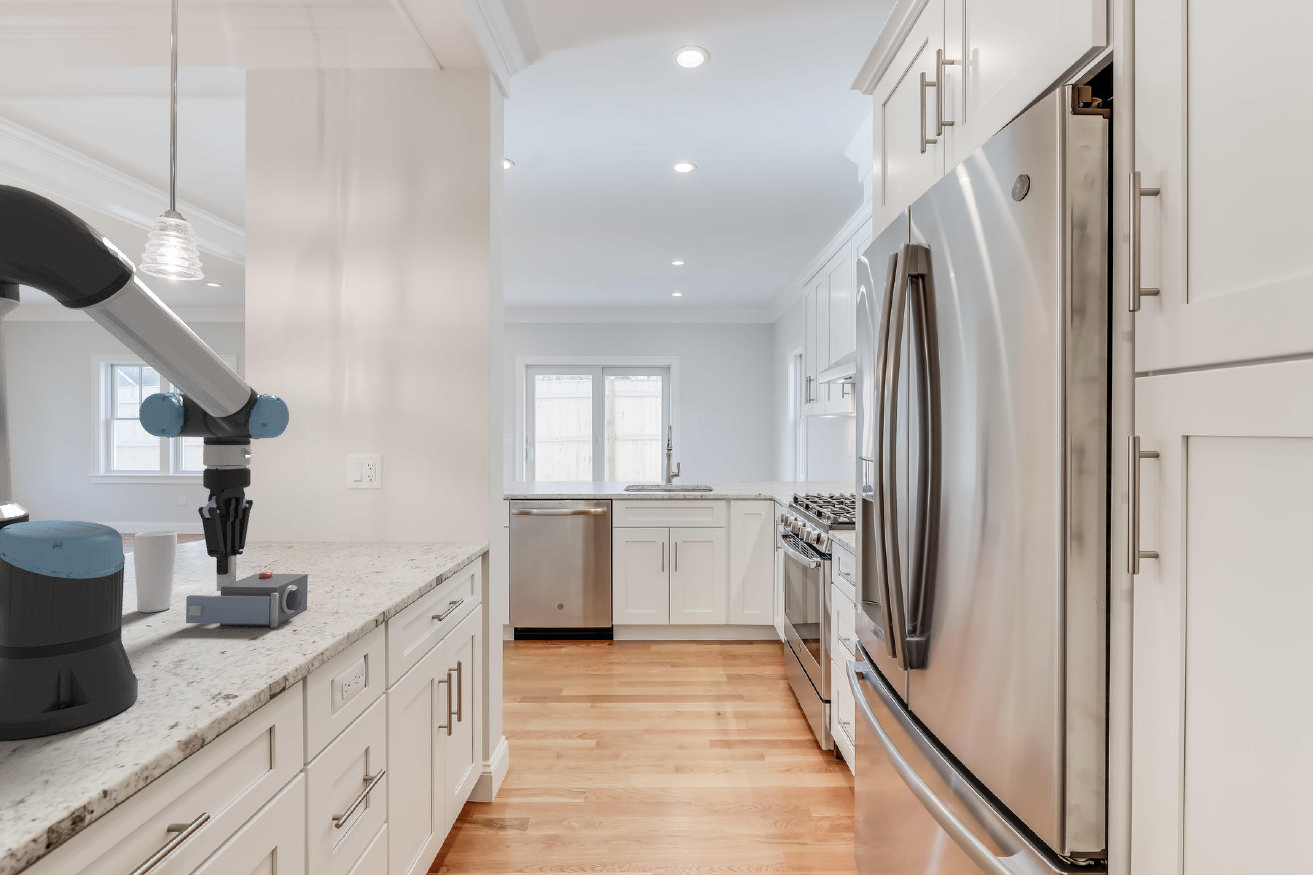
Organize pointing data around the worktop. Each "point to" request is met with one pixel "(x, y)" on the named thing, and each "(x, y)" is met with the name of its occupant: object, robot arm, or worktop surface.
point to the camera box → (265, 583)
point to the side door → (232, 609)
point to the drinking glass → (155, 569)
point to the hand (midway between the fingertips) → (226, 589)
